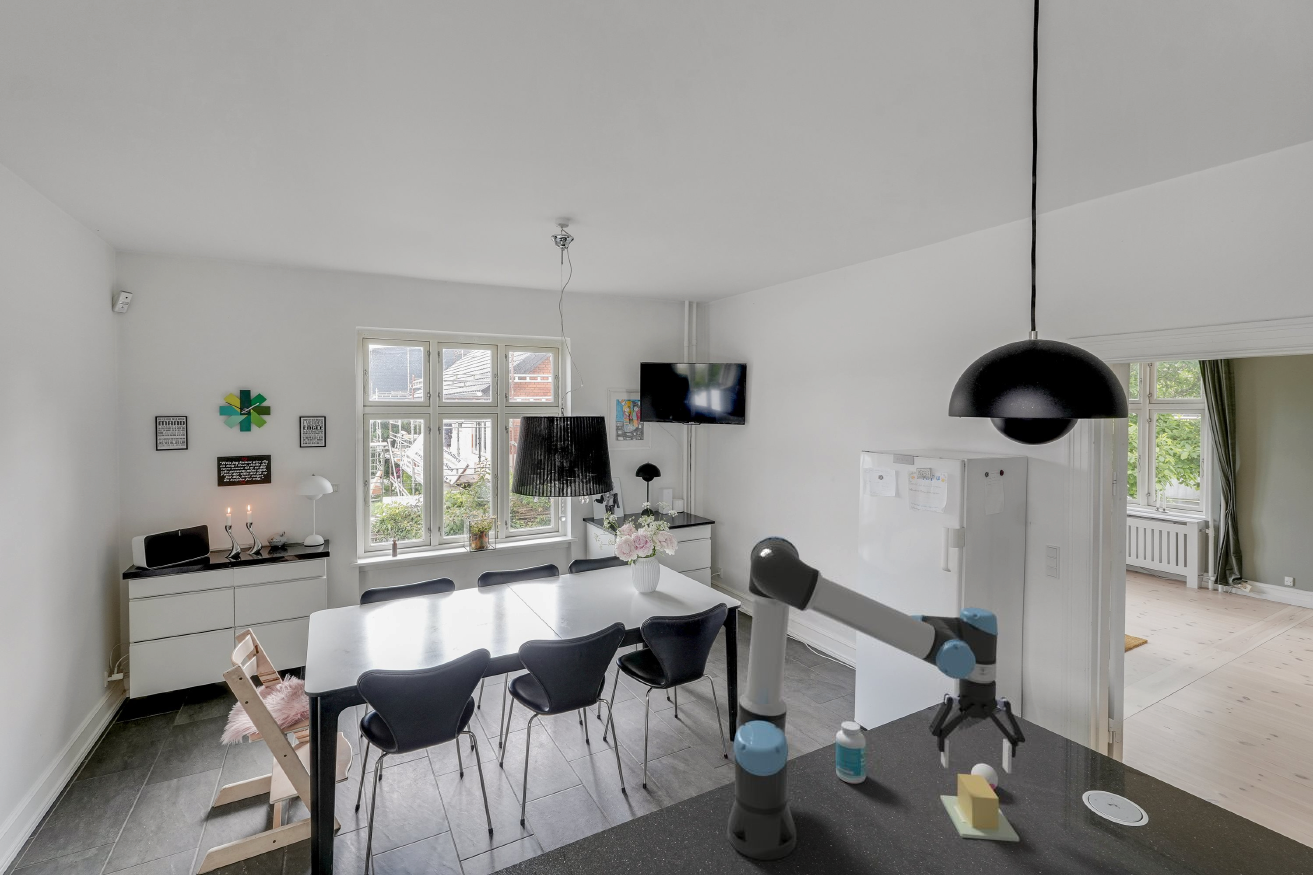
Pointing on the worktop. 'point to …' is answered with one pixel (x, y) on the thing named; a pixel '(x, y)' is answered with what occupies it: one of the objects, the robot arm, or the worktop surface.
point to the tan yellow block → (978, 801)
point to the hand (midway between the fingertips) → (975, 767)
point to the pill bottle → (850, 753)
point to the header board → (968, 831)
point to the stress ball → (986, 774)
